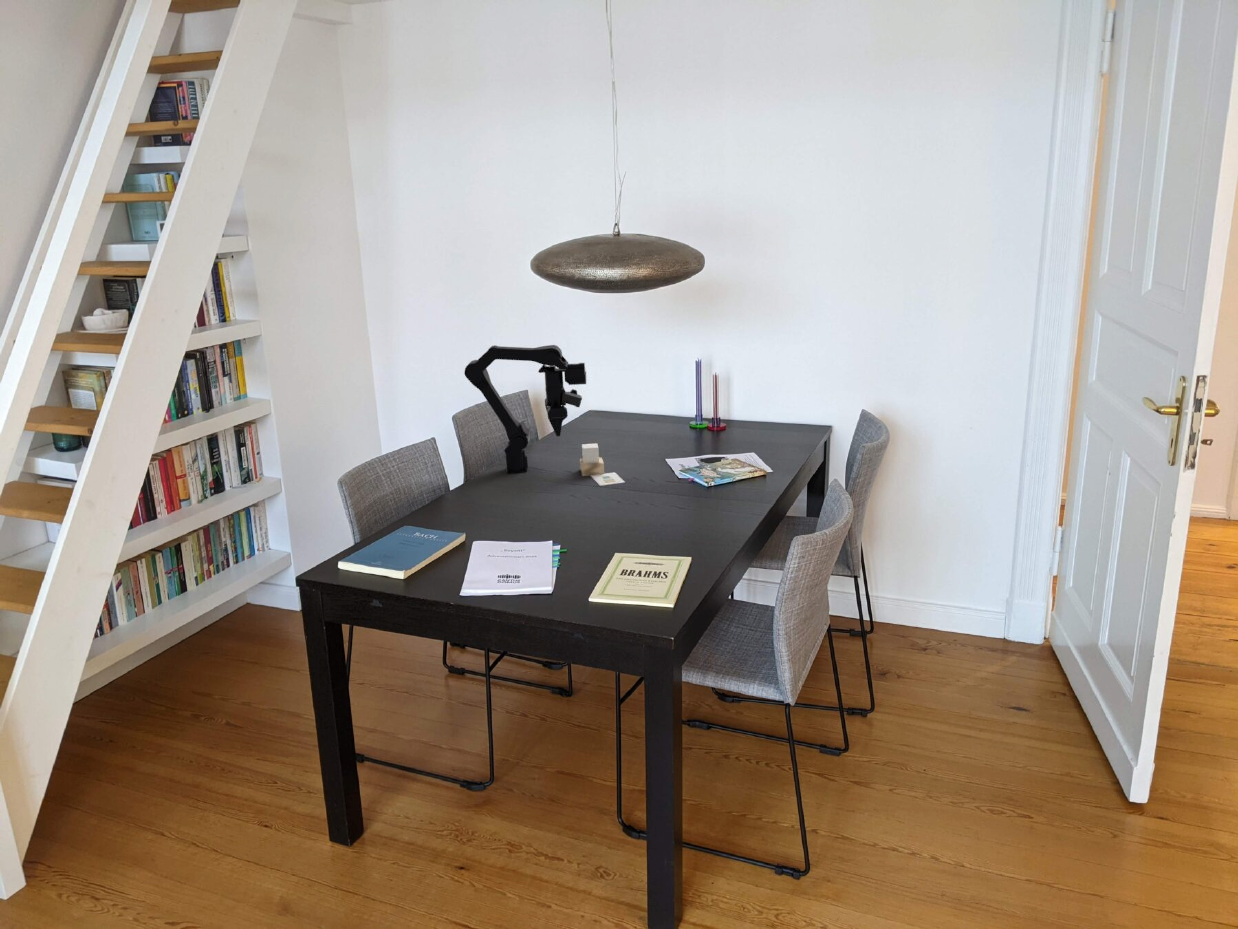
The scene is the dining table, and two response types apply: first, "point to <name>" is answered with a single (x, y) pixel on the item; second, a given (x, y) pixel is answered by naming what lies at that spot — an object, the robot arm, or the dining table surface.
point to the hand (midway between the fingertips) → (557, 432)
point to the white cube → (590, 453)
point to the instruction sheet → (607, 479)
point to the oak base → (592, 468)
